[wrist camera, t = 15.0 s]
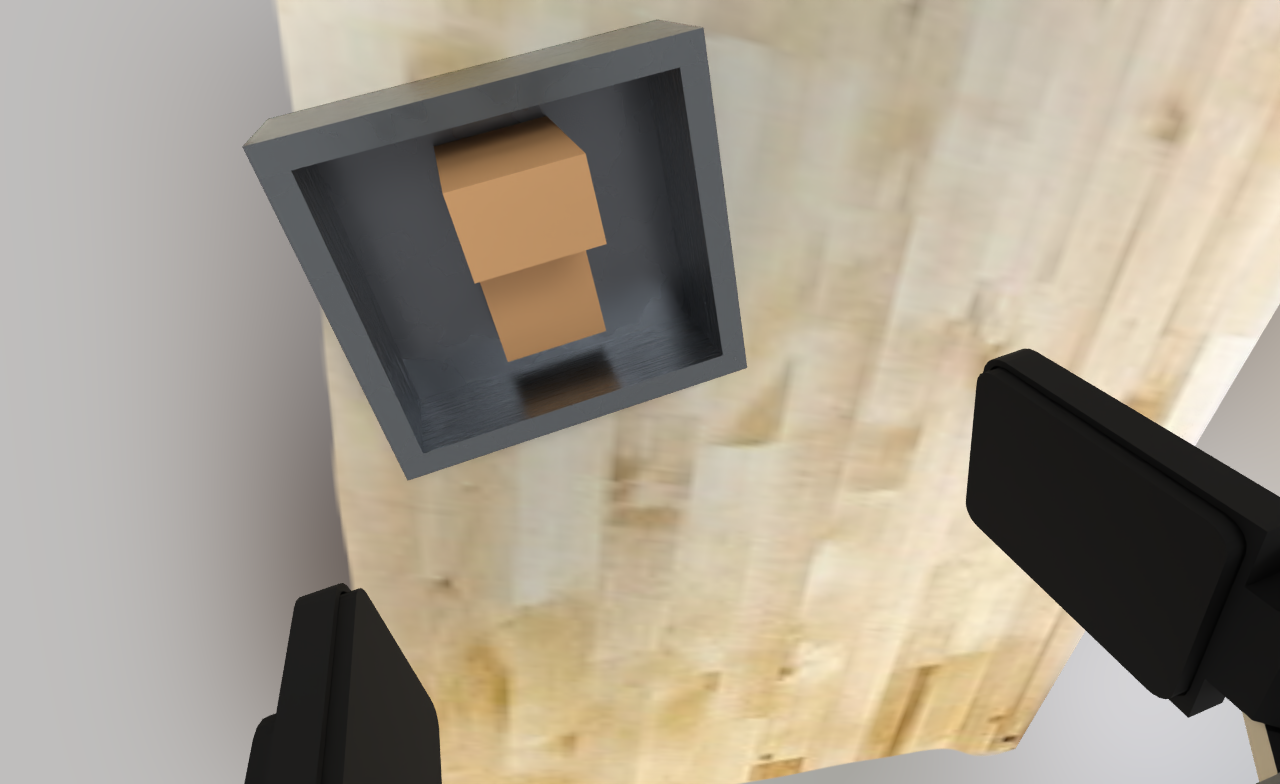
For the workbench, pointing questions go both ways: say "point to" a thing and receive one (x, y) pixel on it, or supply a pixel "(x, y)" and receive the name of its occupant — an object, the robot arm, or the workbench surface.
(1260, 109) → the workbench surface
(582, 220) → the tan stepped block
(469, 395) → the well box
